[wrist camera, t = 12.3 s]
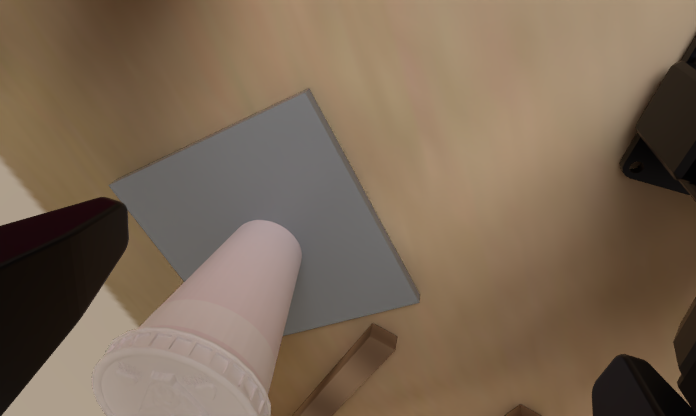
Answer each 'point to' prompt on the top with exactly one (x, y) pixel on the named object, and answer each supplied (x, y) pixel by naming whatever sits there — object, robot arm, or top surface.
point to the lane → (359, 375)
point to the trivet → (275, 210)
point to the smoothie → (208, 335)
